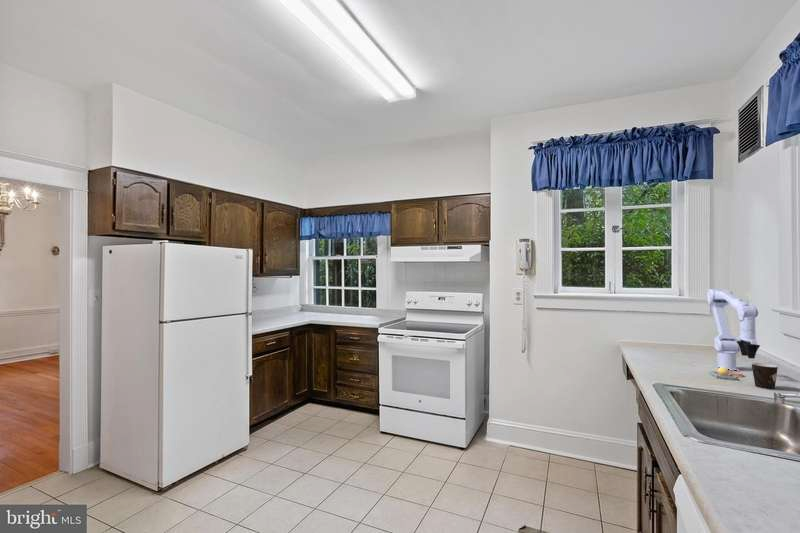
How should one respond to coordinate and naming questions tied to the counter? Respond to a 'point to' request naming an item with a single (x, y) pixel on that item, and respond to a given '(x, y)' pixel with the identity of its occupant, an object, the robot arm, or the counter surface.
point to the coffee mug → (764, 375)
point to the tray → (728, 377)
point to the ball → (723, 371)
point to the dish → (736, 373)
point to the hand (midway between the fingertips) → (747, 356)
